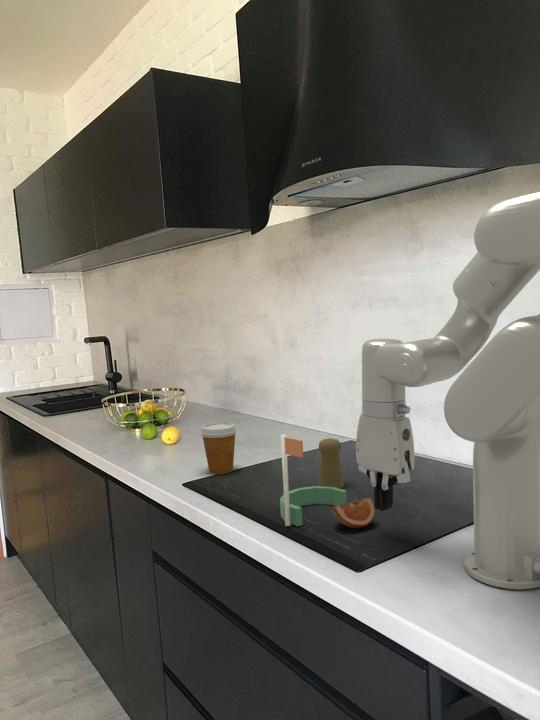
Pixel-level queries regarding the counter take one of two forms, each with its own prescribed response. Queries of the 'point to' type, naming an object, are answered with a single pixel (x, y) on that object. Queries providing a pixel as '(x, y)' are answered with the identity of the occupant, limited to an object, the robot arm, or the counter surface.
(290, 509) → the green segmented arc
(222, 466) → the disposable coffee cup
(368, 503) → the fruit slice
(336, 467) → the cork
